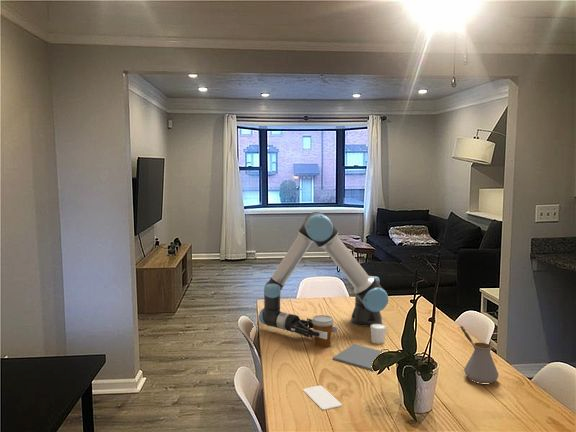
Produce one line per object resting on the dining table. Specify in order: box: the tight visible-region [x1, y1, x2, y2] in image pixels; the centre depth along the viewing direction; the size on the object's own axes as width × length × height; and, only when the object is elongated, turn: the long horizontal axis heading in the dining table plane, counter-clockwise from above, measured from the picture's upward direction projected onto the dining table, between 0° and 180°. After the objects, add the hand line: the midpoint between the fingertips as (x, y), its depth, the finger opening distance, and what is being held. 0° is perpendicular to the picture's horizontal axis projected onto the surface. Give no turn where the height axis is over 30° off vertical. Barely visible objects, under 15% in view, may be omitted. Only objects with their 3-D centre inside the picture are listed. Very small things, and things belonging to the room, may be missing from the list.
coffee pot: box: [457, 325, 500, 384], centre depth 170 cm, size 21×12×15 cm, turn 8°
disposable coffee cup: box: [312, 314, 335, 349], centre depth 196 cm, size 10×10×12 cm
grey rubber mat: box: [332, 343, 385, 371], centre depth 184 cm, size 18×18×1 cm
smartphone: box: [303, 385, 343, 411], centre depth 152 cm, size 7×1×15 cm
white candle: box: [369, 323, 387, 345], centre depth 202 cm, size 7×7×7 cm
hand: (332, 332), depth 194 cm, fingers closed on disposable coffee cup, 8 cm apart
